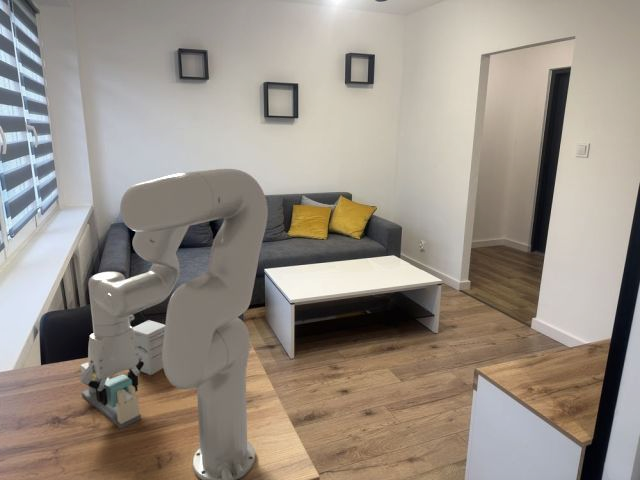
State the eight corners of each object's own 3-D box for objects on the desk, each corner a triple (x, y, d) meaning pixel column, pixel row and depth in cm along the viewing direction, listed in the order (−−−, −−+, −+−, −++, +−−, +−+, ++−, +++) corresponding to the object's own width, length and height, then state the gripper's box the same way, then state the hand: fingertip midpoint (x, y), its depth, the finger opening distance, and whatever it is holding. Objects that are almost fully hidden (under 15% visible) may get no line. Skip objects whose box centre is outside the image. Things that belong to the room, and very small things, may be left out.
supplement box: (132, 369, 126) (128, 328, 123) (152, 358, 132) (149, 319, 129) (150, 376, 123) (147, 334, 120) (170, 364, 129) (167, 324, 126)
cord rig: (141, 418, 104) (138, 386, 102) (120, 428, 101) (117, 395, 99) (101, 387, 117) (98, 358, 115) (82, 395, 113) (78, 365, 111)
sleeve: (133, 398, 105) (131, 379, 104) (112, 408, 102) (110, 388, 100) (125, 392, 108) (123, 373, 107) (104, 401, 104) (102, 382, 103)
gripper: (139, 310, 109) (144, 375, 113) (63, 333, 96) (73, 406, 100) (155, 319, 105) (160, 386, 109) (78, 344, 91) (88, 419, 96)
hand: (118, 395), depth 104 cm, fingers open, 6 cm apart
